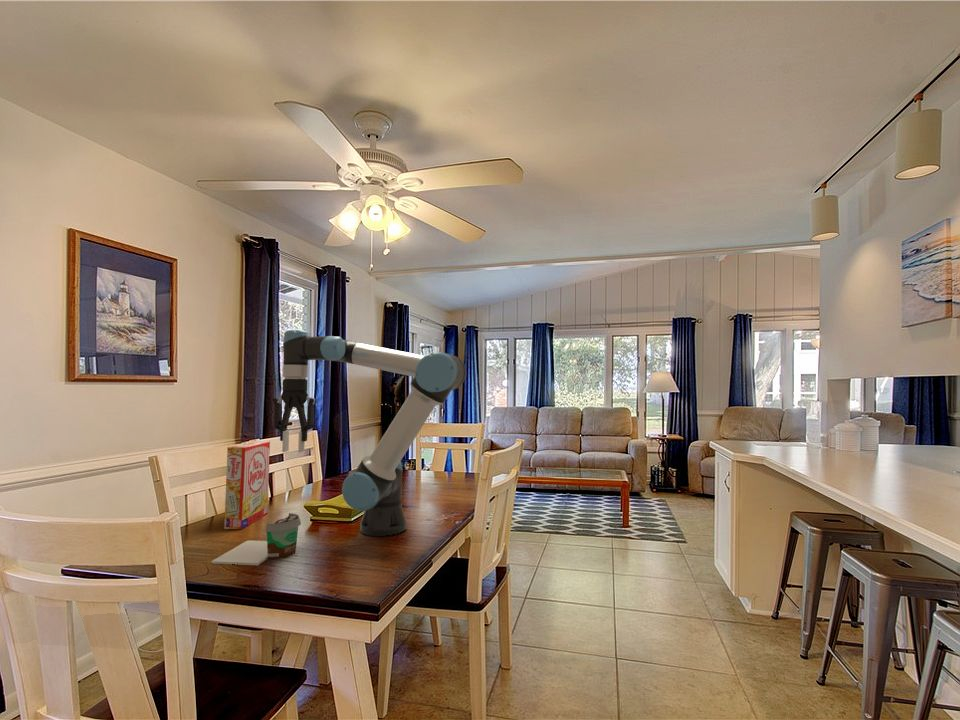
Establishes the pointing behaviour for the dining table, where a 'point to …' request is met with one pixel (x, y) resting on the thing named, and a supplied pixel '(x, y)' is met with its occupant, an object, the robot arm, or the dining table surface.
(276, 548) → the food container
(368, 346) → the robot arm
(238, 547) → the mat
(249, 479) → the board game box
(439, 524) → the dining table surface
